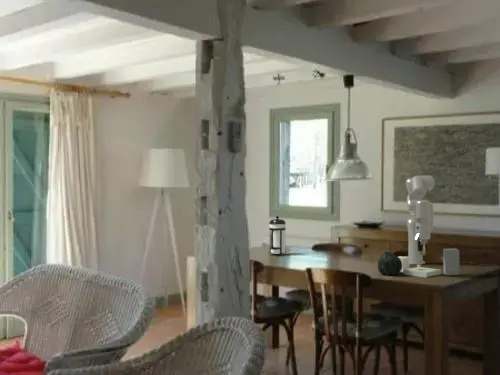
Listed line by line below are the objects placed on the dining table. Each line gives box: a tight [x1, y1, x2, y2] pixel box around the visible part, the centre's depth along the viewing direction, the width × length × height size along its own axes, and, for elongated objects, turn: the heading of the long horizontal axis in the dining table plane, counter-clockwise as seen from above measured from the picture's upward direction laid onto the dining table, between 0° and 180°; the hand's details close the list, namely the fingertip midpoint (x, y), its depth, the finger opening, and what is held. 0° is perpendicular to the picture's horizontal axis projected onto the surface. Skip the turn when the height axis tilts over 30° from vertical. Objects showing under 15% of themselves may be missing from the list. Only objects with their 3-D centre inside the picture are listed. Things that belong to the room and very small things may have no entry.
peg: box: [419, 238, 426, 256], centre depth 390 cm, size 4×4×10 cm
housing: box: [397, 255, 411, 273], centre depth 403 cm, size 7×7×9 cm
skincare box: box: [442, 247, 460, 276], centre depth 390 cm, size 8×7×16 cm
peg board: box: [403, 266, 442, 278], centre depth 390 cm, size 16×16×3 cm
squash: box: [377, 251, 402, 276], centre depth 392 cm, size 14×15×15 cm
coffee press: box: [268, 215, 287, 256], centre depth 486 cm, size 17×16×30 cm
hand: (422, 250), depth 390 cm, fingers closed on peg, 4 cm apart
